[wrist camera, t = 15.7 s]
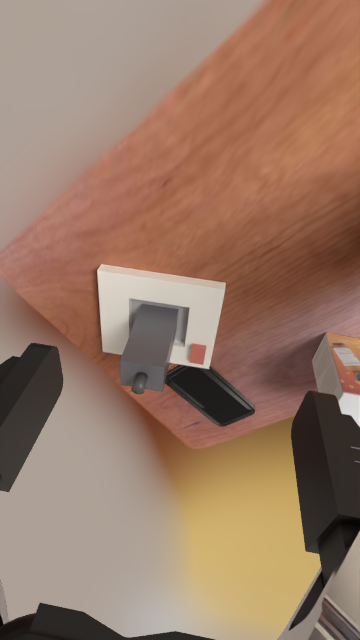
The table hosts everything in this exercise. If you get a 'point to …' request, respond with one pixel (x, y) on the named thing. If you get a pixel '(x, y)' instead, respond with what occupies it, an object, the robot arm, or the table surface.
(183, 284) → the socket plate
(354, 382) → the small box
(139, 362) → the plug
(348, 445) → the robot arm
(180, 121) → the table surface
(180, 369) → the phone
